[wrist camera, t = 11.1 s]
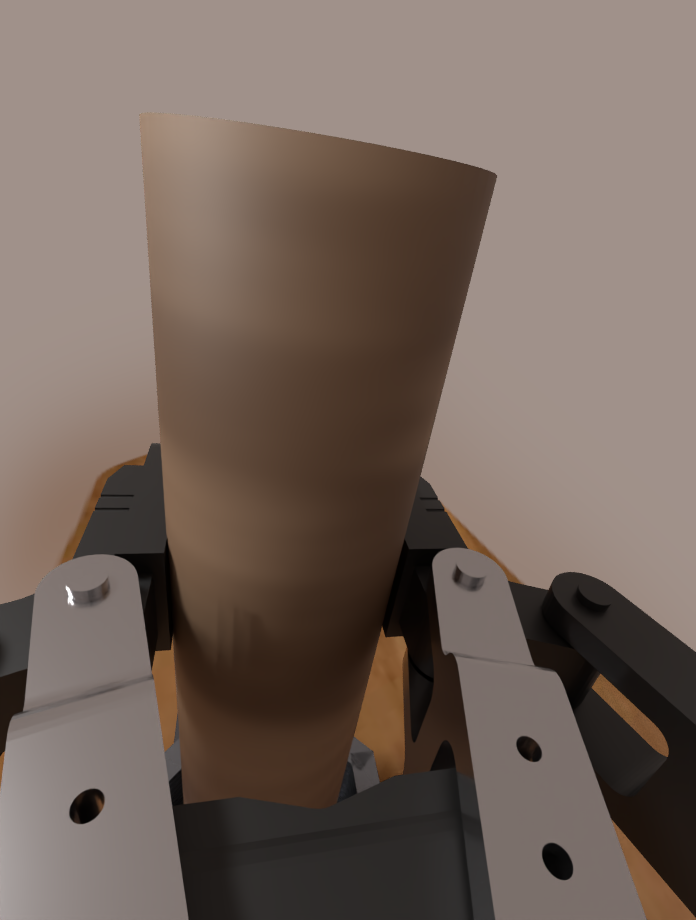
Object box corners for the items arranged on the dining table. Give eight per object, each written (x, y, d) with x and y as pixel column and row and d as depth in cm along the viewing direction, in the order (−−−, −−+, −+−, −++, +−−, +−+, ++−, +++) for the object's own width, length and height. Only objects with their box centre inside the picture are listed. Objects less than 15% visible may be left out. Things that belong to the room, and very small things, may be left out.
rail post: (253, 718, 16) (292, 153, 8) (355, 795, 14) (532, 187, 6) (153, 836, 13) (52, 99, 5) (270, 950, 11) (406, 138, 3)
